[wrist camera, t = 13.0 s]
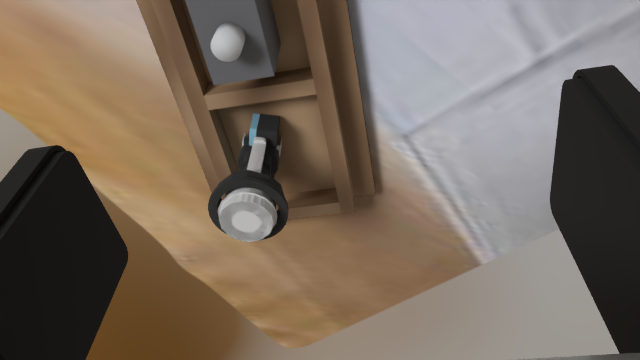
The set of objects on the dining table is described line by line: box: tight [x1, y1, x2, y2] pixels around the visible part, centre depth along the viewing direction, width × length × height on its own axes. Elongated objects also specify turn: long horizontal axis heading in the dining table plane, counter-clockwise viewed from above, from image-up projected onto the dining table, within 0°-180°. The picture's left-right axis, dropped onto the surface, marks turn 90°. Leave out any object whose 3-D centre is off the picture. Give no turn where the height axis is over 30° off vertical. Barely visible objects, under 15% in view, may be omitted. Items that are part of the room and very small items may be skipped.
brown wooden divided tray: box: [136, 0, 375, 220], centre depth 39 cm, size 14×24×3 cm, turn 10°
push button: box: [208, 113, 289, 242], centre depth 39 cm, size 7×5×10 cm
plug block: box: [185, 0, 281, 85], centre depth 33 cm, size 4×6×7 cm, turn 10°
